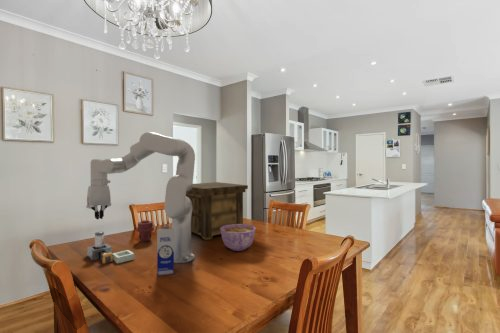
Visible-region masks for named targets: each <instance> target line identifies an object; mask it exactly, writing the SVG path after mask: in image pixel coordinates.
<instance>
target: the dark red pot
mask: <svg viewBox="0 0 500 333" xmlns="http://www.w3.org/2000/svg"><path fill="white" fill-rule="evenodd" d="M154 229H155V227H154V226H153V221H151V220H148V219H143V220H141V221H139V222H137V227H136V232H138V240H139V242H141V243H143V242H151V239H152V231H154Z"/></svg>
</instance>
